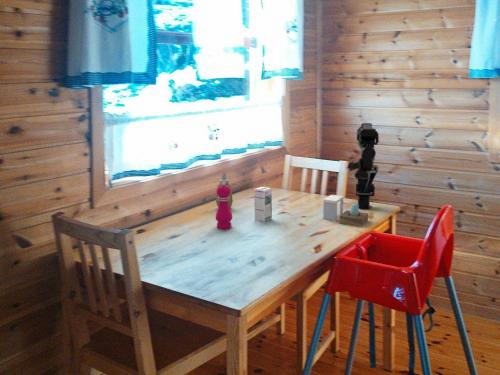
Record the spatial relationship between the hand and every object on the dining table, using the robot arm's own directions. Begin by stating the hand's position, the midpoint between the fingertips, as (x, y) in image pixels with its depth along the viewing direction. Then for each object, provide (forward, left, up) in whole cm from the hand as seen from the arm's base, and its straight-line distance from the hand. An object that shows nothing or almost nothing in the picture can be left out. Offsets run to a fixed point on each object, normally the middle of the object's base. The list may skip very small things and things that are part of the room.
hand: (365, 189), depth 256 cm
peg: (+14, -1, -12) cm, 18 cm away
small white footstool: (+10, -12, -12) cm, 20 cm away
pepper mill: (+46, -49, -12) cm, 68 cm away
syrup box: (+28, -39, -12) cm, 49 cm away
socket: (+14, -1, -12) cm, 18 cm away
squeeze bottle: (+20, -63, -12) cm, 68 cm away
